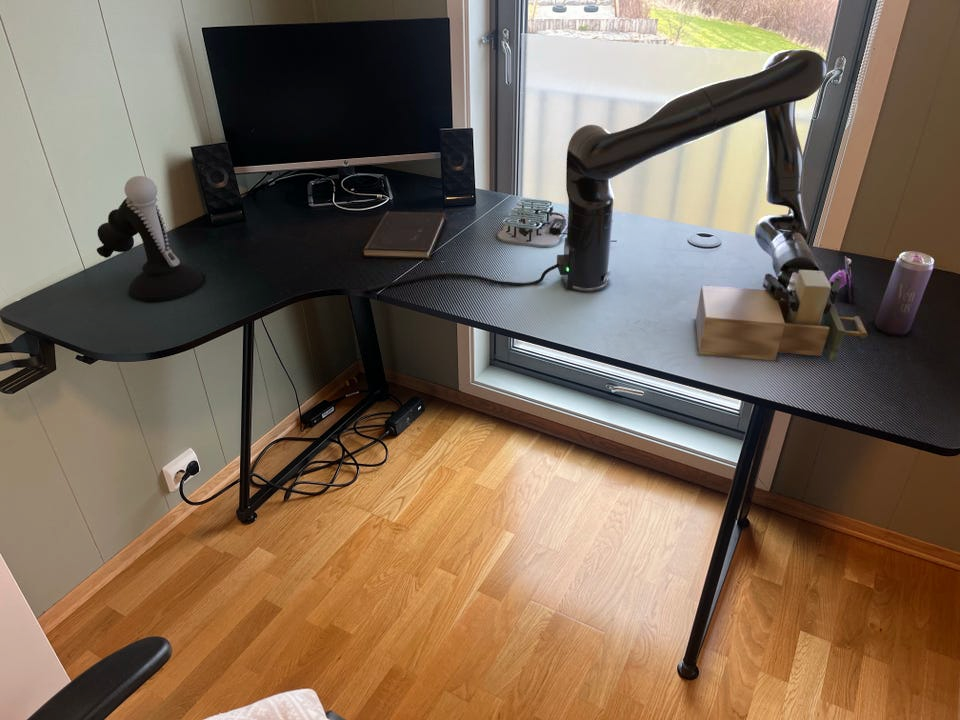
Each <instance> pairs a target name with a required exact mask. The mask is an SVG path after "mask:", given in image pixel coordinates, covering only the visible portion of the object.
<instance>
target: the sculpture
mask: <svg viewBox="0 0 960 720" xmlns="http://www.w3.org/2000/svg"><path fill="white" fill-rule="evenodd" d="M123 191H124V194H125V197H126V198H125V199H124V200H123V201H122V202H121V203H120V205H119V206H118V208H115V209H112V210H111V211H110V212H109V213H108V216H107V222H104V223H102V224H101V225H99V226H98V228H97V237H98V240H99V242H101V244H102V245H101V246H99V247H97V248H96V253H98V255H99V256H101V257H103V258H105V259H108V258H110V257H111V256H112V255H113V253H114V252H116V253H126V252H129V251H130V250H132V249H133V248H134V245H135V239H134V236H136V235H137V234H138V235H139V237H140V238H141V240H142V244H143V247H144V252H145V257H146V262H144V264H143V265H142V267H141V270H142V271H141V272H139V273H138V274H137V275H136V276H135V278H133V280H132V282H131V283H130V285H129V291H130V294H131V296H132V297H133V298H134V299H136V300H138V301H142V302H149V303H151V302H152V303H154V302H156V303H157V302H166V301H171V300H176V299H179V298H182V297H184V296H187V295H188V294H190V293H193V292H194V291H196V290H197V289H198V288H199V287H200V286H201V285H202V283H203V280H204V279H203V274H202V271H200V269H198V268H196V267H194V266H192V265H190V264H186V263H183V262H181V260H180V259H179V258H178V257H177V256H176V254H174V252H173V250H172V249H171V248H170V246H169V245H170V243H169V242H168V241H169V238H168V234H167V233H168V231H167V226H166V225H165V224H166V223H165V221H163V220H164V218H163V217H162V216H163V214H162V213H160V212H161V209H160V208H159V205H158V204H157V203H158V198H157V195H158V186H157V185H156V183H155V182H154V181H153V179H151V178H149V177H147V176H144V175H137V176H132V177H131V178H129V179H128V180H127V181H126V182H125V185H124V189H123Z"/></svg>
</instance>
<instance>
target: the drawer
mask: <svg viewBox="0 0 960 720" xmlns="http://www.w3.org/2000/svg"><path fill="white" fill-rule="evenodd" d="M778 303H779V306H780V309H781V312H782V316H783V319H784V322H785V320H786V317H787V313H788V309H789V307H788V305H787V302H785V299H782V298H781V299H780V300H778ZM842 322H850V323H853V324H854V326H855V329H856V330H845V327H844V325H843V323H842ZM845 336H852V337H853V336H855V337H860V338H861V339H866V338H867V337H868V336H869V335H868V332H867V330H866V328H865V326H864V324H863V322H862V319H861V318H860V316H858V315H854V316H853V317H849V316H839V314H838V312H837V309H836V306H835V304H832V305H831V308H830V311H828V312H827V314H823V315H822V318H821V321H820V324H819V326H815V325H802V324H790V323H785V326H784V330H783V334H782V337H781V341H780V345H779V349H778V353H784V354H792V355H793V354H794V355H803V356H804V355H805V356H815V357H816V356H817V357H822V354H823V351H824V350H825V354H826V356H827V358H828V360H830V361H836V360H837V359H838V356H839V352H840V349H841V346H842V342H843V339H844V337H845Z"/></svg>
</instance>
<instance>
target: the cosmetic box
mask: <svg viewBox="0 0 960 720" xmlns="http://www.w3.org/2000/svg"><path fill="white" fill-rule="evenodd" d="M828 281H829V280H828V277H827V276H826V274H825V271H824V270H820V271H813V270H799V273H798V277H797V280H796V284H795V291H794V292H796V293H797V296H798V299H799V306H798V310H797V312H794V311H792V309H790V308H789V309H788V313H787V317H786V320H785V323H790V324H802V325H815V326H819V324H820V321H821V318H822V315H823V311H824V308H825V305H826V302H827V298H828V295H829V292H830V289H831V287H830V284H829V282H828Z"/></svg>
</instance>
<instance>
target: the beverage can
mask: <svg viewBox="0 0 960 720" xmlns="http://www.w3.org/2000/svg"><path fill="white" fill-rule="evenodd" d="M934 263H935V259H934V257H932V256H931V255H929V254H926V253H924V252H920V251H913V250H911V251H909V250H908V251H902V252H901V253H900V254H899V256H898V257H897V258H896V260H895V264H894V267H893V269H892V272H891V275H890V277H889V281H888V284H887V287H886V289H885V293H884V296H883V298H882V301H881V304H880V307H879V310H878V313H877V315H876V319H875V322H874V323H875V327H876V328H877V329H878V330H879V331H880V332H882V333H884V334H887V335H892V336H903V335H905V334H907V333H908V332H909V331H910V330H911V327H912V324H913V322H914V320H915V317H916V315H917V312H918V310H919V306H920V304H921V302H922V298H923V296H924V294H925V290H926V288H927V285H928V283H929V280H930V278H931V275H932V272H933V269H934Z"/></svg>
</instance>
